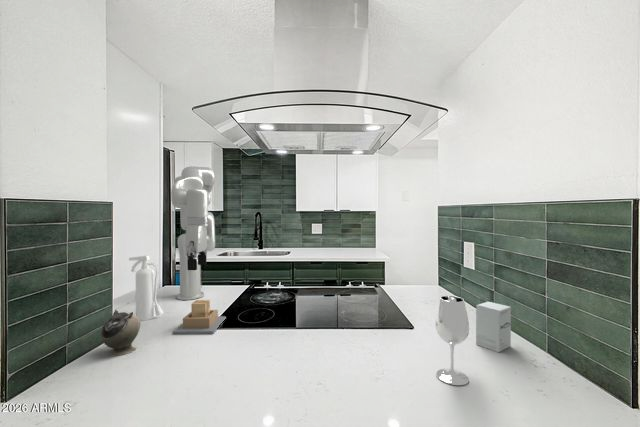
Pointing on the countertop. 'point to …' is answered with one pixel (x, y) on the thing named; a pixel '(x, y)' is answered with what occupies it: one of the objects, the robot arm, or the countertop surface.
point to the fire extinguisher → (146, 289)
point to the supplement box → (493, 326)
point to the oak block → (201, 308)
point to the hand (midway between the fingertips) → (197, 267)
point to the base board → (200, 324)
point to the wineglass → (452, 334)
